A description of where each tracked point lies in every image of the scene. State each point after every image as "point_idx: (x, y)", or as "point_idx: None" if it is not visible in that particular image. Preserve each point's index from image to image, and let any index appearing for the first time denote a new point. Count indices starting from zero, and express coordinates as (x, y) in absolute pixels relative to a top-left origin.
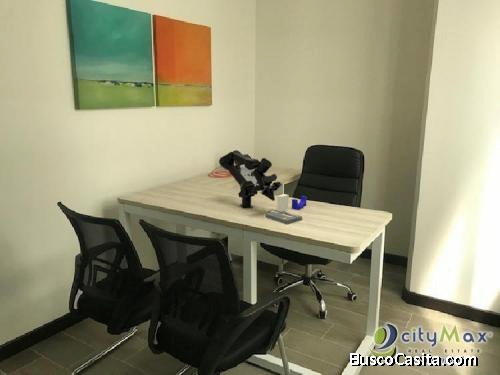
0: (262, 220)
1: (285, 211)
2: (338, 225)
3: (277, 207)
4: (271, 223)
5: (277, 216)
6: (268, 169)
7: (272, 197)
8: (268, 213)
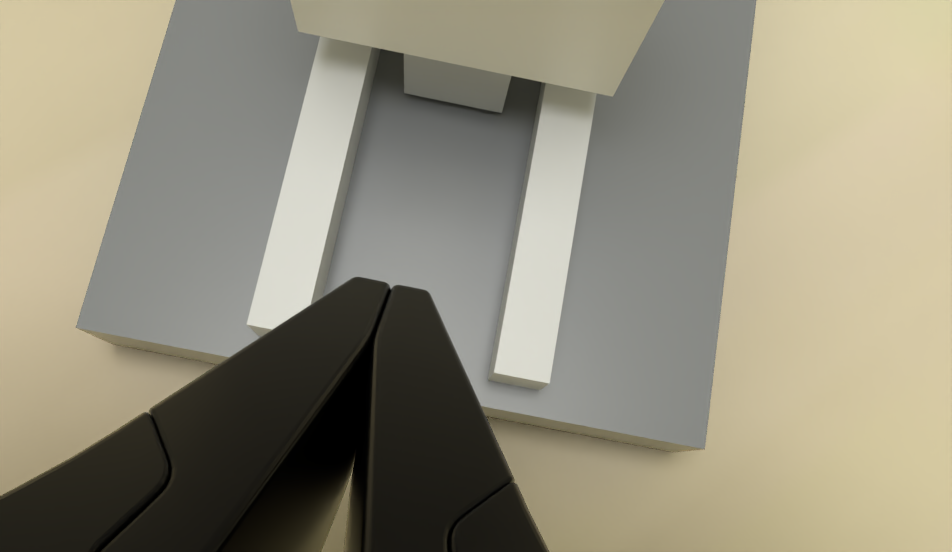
0: (921, 355)
1: (141, 144)
2: None
3: (641, 32)
4: (930, 83)
5: (683, 69)
6: None
7: (448, 353)
8: (630, 401)
